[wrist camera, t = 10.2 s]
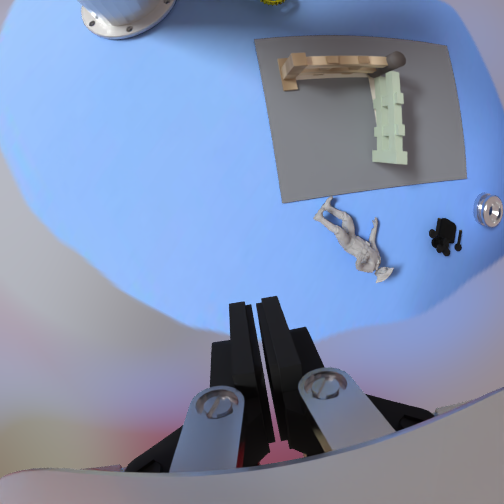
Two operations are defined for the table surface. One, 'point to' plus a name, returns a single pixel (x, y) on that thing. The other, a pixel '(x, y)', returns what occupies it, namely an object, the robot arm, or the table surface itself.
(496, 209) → the grooved metal pulley
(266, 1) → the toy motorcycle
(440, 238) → the wireless earbuds
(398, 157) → the fence swing section
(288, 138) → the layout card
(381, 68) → the fence fixed section
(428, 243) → the table surface
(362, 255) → the soldier figure
